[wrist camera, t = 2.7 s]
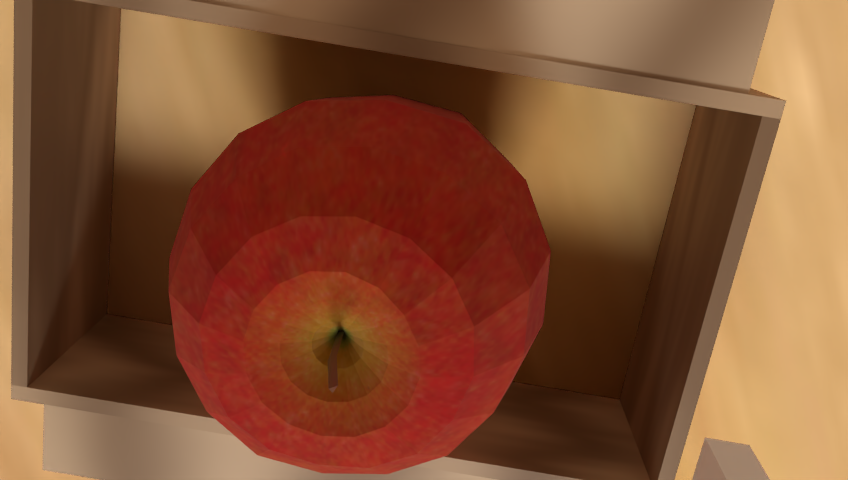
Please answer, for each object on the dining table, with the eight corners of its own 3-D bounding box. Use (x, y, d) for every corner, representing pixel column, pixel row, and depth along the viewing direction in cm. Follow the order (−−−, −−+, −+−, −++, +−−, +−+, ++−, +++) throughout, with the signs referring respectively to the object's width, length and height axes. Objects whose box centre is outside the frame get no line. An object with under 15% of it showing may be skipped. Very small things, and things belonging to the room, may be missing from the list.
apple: (463, 17, 27) (464, 46, 14) (569, 276, 30) (655, 506, 17) (196, 138, 29) (-28, 265, 16) (319, 373, 32) (215, 653, 18)
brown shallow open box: (91, 381, 32) (10, 466, 26) (110, -105, 27) (14, -130, 21) (614, 468, 32) (647, 572, 27) (739, 1, 27) (813, 5, 21)
